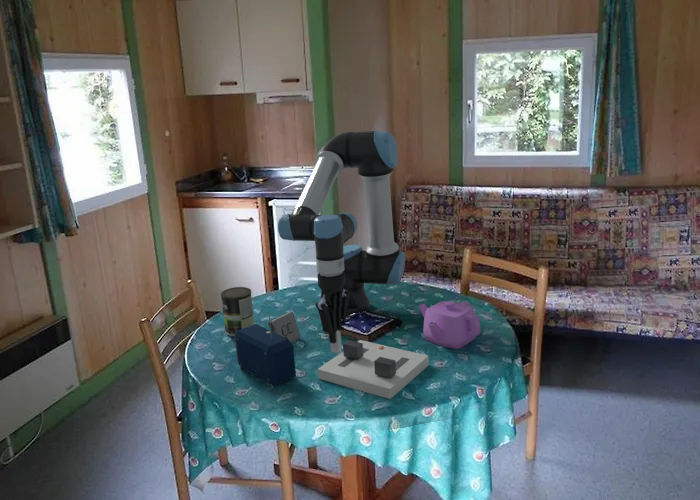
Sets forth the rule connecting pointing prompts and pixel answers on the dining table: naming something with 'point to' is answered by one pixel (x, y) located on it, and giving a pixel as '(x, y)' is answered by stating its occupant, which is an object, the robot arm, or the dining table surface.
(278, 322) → the electrical switch
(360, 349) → the block
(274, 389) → the dining table surface
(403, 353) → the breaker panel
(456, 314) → the teakettle
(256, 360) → the radio
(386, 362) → the block
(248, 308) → the coffee can
